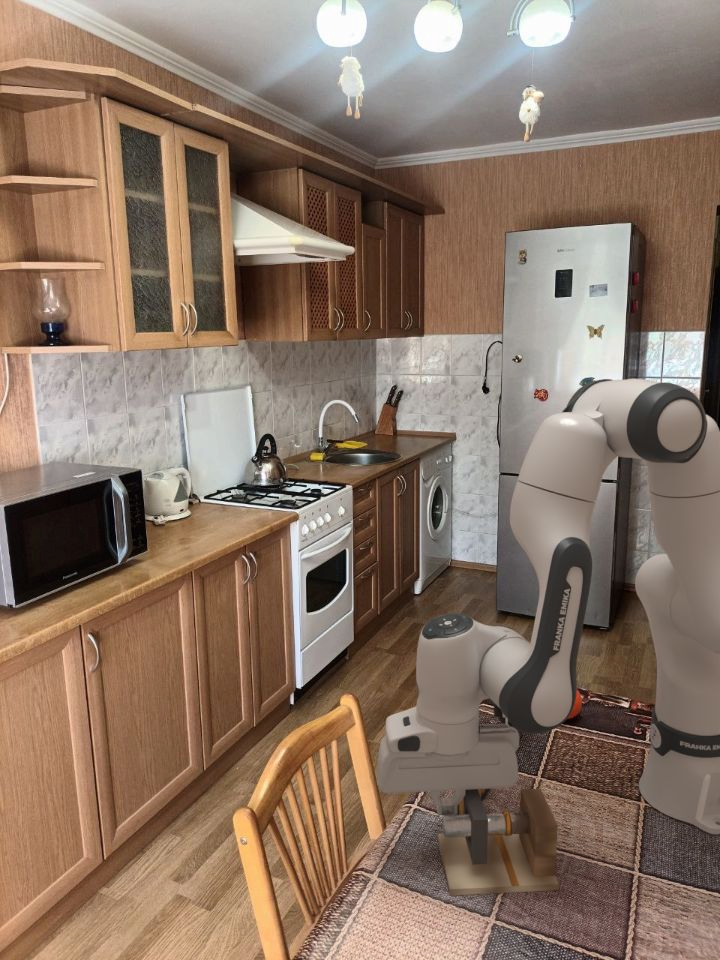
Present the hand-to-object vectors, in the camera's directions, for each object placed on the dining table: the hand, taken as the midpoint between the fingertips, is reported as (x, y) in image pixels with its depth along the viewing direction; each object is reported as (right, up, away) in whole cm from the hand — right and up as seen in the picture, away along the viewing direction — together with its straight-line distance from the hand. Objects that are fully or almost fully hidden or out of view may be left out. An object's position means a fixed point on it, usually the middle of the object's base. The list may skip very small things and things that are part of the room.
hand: (446, 812), depth 105 cm
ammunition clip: (+6, -4, +11) cm, 13 cm away
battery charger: (+15, 0, +29) cm, 33 cm away
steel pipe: (+6, -2, -2) cm, 7 cm away
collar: (+4, -4, -2) cm, 6 cm away
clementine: (+27, +1, +37) cm, 46 cm away
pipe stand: (+7, -7, -1) cm, 10 cm away
